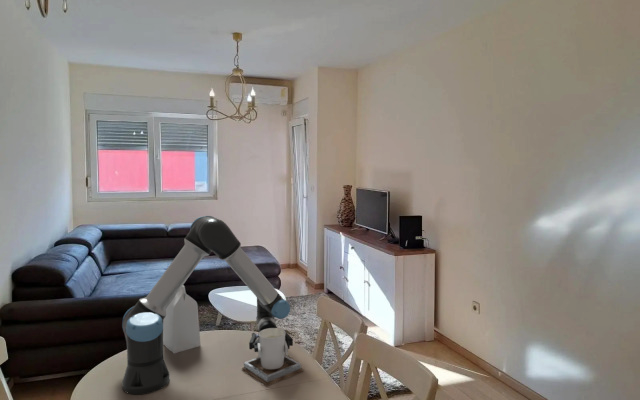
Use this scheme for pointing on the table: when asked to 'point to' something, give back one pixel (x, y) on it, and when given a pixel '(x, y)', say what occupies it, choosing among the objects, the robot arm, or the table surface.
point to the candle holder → (272, 347)
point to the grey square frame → (294, 367)
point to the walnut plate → (270, 371)
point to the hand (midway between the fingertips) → (273, 352)
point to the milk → (181, 323)
